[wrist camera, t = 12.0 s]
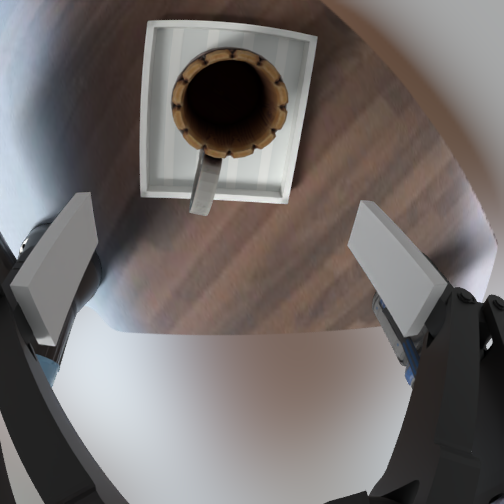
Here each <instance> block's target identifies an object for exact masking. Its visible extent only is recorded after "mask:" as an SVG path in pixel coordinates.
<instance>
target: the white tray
mask: <svg viewBox="0 0 504 504" xmlns="http://www.w3.org/2000/svg"><path fill="white" fill-rule="evenodd" d="M317 38H318V37H317V36H313V35H308V34H304V33H299V32H294V31H289V30H283V29H277V28H271V27H265V26H257V25H250V24H241V23H231V22H218V21H199V20H155V21H148V23H147V31H146V39H145V49H144V60H143V72H142V87H141V107H140V193H141V197H153V198H187V199H191V194H192V189H193V183H194V179H195V174H196V169H197V165H198V161H199V152H200V149H199V150H197V149H195V148H194V147H192V146H191V145H189V144H188V143H187V141H186V140H185V139H184V138H183V135H182V134H181V133H180V131H179V130H178V128H177V126H176V124H175V122H174V119H173V116H172V109H171V96H172V89H173V87H174V84H175V82H176V80H177V77H178V75H179V74H180V73H181V72H182V70H183V69H184V68H185V67H186V65H187V64H188V63H189V62H190V61H191V60H192V59H193V58H194V57H196V56H197V55H199V54H200V53H202V52H204V51H207V50H210V49H212V48H218V47H237V48H243V49H248V50H251V51H253V52H255V53H257V54H260V55H262V56H263V57H264V58H265V59H267V60H268V61H269V62H270V63H272V64H273V65H274V67H275V68H276V69H277V71H278V72H279V74H280V75H281V76H282V79H283V82H284V83H285V86H286V89H287V91H288V103H287V108H286V110H287V111H288V113H287V117H286V121H285V123H284V125H283V127H282V129H281V130H278V131H277V132H276V133H275V134H276V137H275V138H274V140H273V141H272V142H271V143H270V144H269V145H267V146H266V147H264V148H263V149H255V150H254V153H253V154H251V155H249V156H246V157H242V158H233V157H232V156H227V157H226V158H225V159H224V158H222V165H221V170H220V175H219V180H218V184H217V188H216V192H215V195H214V199H213V200H231V201H248V202H264V203H278V204H288V199H289V194H290V189H291V184H292V179H293V174H294V169H295V163H296V158H297V153H298V148H299V142H300V137H301V131H302V126H303V120H304V115H305V109H306V104H307V98H308V92H309V86H310V81H311V75H312V69H313V63H314V57H315V50H316V44H317ZM203 57H204V56H203Z"/></svg>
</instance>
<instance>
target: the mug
mask: <svg viewBox="0 0 504 504" xmlns="http://www.w3.org/2000/svg"><path fill="white" fill-rule="evenodd" d="M203 56H204V57H203ZM287 103H288V91H287V89H286V86H285V83H284V82H283V79H282V76H281V75H280V74H279V72H278V71H277V69H276V68H275V67H274V65H273V64H272V63H270V62H269V61H268V60H267V59H265V58H264V57H263V56H262V55H260V54H257V53H255V52H253V51H251V50H248V49H243V48H237V47H218V48H212V49H210V50H207V51H204V52H202V53H200V54H199V55H197V56H196V57H194V58H193V59H192V60H191V61H190V62H189V63H188V64H187V65H186V67H185V68H184V69H183V70H182V72H181V73H180V74H179V75H178V77H177V80H176V82H175V84H174V87H173V89H172V96H171V109H172V116H173V119H174V122H175V124H176V126H177V128H178V130H179V131H180V133H181V134H182V135H183V138H184V139H185V140H186V141H187V143H188V144H189V145H191V146H192V147H194V148H195V149H197V150H199V149H200V152H199V161H198V165H197V169H196V174H195V179H194V183H193V189H192V194H191V200H190V207H189V213H194V214H199V215H204V216H207V215H208V213H209V211H210V208H211V205H212V202H213V199H214V195H215V192H216V188H217V184H218V180H219V175H220V170H221V165H222V158H224V159H225V158H226V157H227V156H232V157H233V158H242V157H246V156H249V155H251V154H253V153H254V150H255V149H263V148H264V147H266V146H267V145H269V144H270V143H271V142H272V141H273V140H274V138H275V137H276V134H275V133H276V132H277V131H278V130H281V129H282V127H283V125H284V123H285V121H286V117H287V113H288V111H287V110H286V108H287Z"/></svg>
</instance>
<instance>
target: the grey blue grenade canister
mask: <svg viewBox="0 0 504 504" xmlns="http://www.w3.org/2000/svg"><path fill="white" fill-rule="evenodd" d="M372 309H373V311H374V313H375V315H376V317H377V319H378V321H379V323H380V325H381V327H382V328H383V330H384V332H385V334H386V336H387V338H388V340H389V342H390V344H391V346H392V348H393V350H394V352H395V354H396V356H397V358H398V360H399V362H400V364H401V365H402V366H406V370H405V377H406V380H407V382H408V384H409V385H411V387H412V389H413V386H414V382H415V378H416V374H417V369H418V365H419V360H420V356H421V351H422V346H420V348H419V349H416V348H417V346H418V344H419V343H420V342H421V340H422V339H423V337H424V336H425V334H426V333H427V331H428V329H427V327H426V326H425V324H424V326H423V327H422V329H421V330H420V332H419V333H418V335H414V336H408V337H404V336H403V334H402V333H401V331H400V329H399V327H398V326H397V324H396V322H395V321H394V319H393V317H392V315H391V314H390V312H389V310H388V309H387V307H386V305H385V304H384V302H383V300H382V299H381V297H380V295H379V294H378V292H376V293H375V295H374V298H373V303H372Z"/></svg>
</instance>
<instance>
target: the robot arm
mask: <svg viewBox="0 0 504 504" xmlns="http://www.w3.org/2000/svg"><path fill="white" fill-rule="evenodd" d="M97 244H98V237H97V231H96V226H95V220H94V213H93V207H92V200H91V192H81V193H76V194H75V195H74V196H73V197H72V199H71V200H70V201H69V202H68V203H67V205H66V206H65V207H64V208H63V210H62V211H61V212H60V213H59V215H58V216H57V217H56V219H55V220H54V221H53V223H52V224H43V225H40V226H38V227H36V228H34V229H33V230H32V231H31V232H30V233H29V234H28V236H27V237H26V238H25V240H24V241H23V243H22V245H21V248H20V251H19V256H18V259H16V258H15V256H14V255H13V253H12V251H11V250H10V248H9V246H8V244H7V243H6V241H5V239H4V237H3V236H2V234H1V232H0V411H1V414H2V417H3V419H4V422H5V424H6V427H7V429H8V432H9V434H10V437H11V439H12V441H13V444H14V446H15V448H16V450H17V453H18V455H19V457H20V459H21V461H22V463H23V465H24V467H25V469H26V471H27V473H28V475H29V477H30V479H31V481H32V482H33V484H34V486H35V488H36V489H37V491H38V493H39V495H40V496H41V498H42V500H43V501H44V503H45V504H129V503H128V502H127V501H126V499H125V498H124V497H123V496H122V495H121V494H120V493H119V491H118V490H117V489H116V487H115V486H114V485H113V484H112V482H111V481H110V480H109V479H108V478H107V476H106V475H105V473H104V472H103V471H102V469H101V468H100V467H99V465H98V464H97V462H96V461H95V460H94V458H93V457H92V455H91V454H90V452H89V451H88V450H87V448H86V446H85V445H84V443H83V442H82V440H81V439H80V437H79V436H78V434H77V432H76V431H75V429H74V428H73V426H72V424H71V423H70V421H69V419H68V418H67V416H66V414H65V412H64V411H63V409H62V407H61V405H60V403H59V401H58V400H57V398H56V396H55V394H54V392H53V390H52V386H53V383H54V380H55V377H56V375H57V372H59V370H60V364H61V361H62V357H63V354H64V350H65V347H66V344H67V340H68V337H69V334H70V331H71V328H72V325H73V322H74V319H75V317H76V314H77V313H78V312H79V311H80V309H81V308H82V307H83V306H84V305H85V304H86V303H87V302H88V301H89V300H90V299H91V298H92V297H93V296H94V295H95V293H96V291H97V289H98V286H99V283H100V280H101V275H102V270H101V264H100V261H99V258H98V256H97V254H96V252H95V248H96V246H97ZM347 246H348V247H349V249H350V250H351V252H352V253H353V255H354V256H355V258H356V259H357V261H358V262H359V264H360V265H361V267H362V268H363V270H364V272H365V273H366V275H367V276H368V278H369V279H370V281H371V283H372V284H373V286H374V287H375V289H376V291H377V292H378V294H379V295H380V297H381V299H382V300H383V302H384V304H385V305H386V307H387V309H388V310H389V312H390V314H391V315H392V317H393V319H394V321H395V322H396V324H397V326H398V327H399V329H400V331H401V333H402V334H403V336H404V337H408V336H414V335H418V333H419V332H420V330H421V329H422V327H423V326H424V324H425V326H426V327H427V329H428V331H427V333H426V334H425V336H424V337H423V339H422V340H421V342H420V343H419V344H418V346H417V348H416V349H419V348H420V346H422V351H421V356H420V360H419V365H418V369H417V374H416V378H415V382H414V386H413V390H412V394H411V397H410V401H409V405H408V408H407V411H406V415H405V418H404V421H403V424H402V428H401V431H400V434H399V437H398V440H397V442H396V445H395V448H394V451H393V453H392V456H391V459H390V462H389V464H388V467H387V469H386V471H385V473H384V475H383V476H382V478H381V479H380V480H379V481H378V482H377V484H376V485H375V486H374V488H373V489H372V491H371V493H370V495H369V496H368V495H367V492H366V491H363V492H360V493H357V494H353V495H350V496H347V497H343V498H339V499H336V500H332V501H329V502H327V503H324V504H504V300H503V299H502V298H500V297H498V296H496V295H489V296H488V298H487V299H486V301H485V302H484V303H480V302H477V301H476V299H475V297H474V296H473V295H472V294H471V293H470V292H468V291H467V290H465V289H463V288H460V287H455V288H453V286H452V285H451V284H450V283H449V281H448V280H447V279H446V278H445V277H444V275H443V274H442V273H441V272H440V271H439V270H438V268H437V267H436V266H435V265H434V264H433V262H432V261H431V260H430V259H429V258H428V257H427V256H426V255H425V254H424V253H422V252H421V251H420V250H419V249H418V248H417V247H416V246H415V245H414V244H413V242H412V241H411V240H410V239H409V238H408V237H407V236H406V235H405V234H404V233H403V232H402V230H401V229H400V228H399V227H398V226H397V225H396V224H395V223H394V222H393V221H392V220H391V219H390V218H389V217H388V216H387V215H386V214H385V213H384V212H383V211H382V210H381V209H380V208H379V207H378V206H377V205H376V204H375V203H374V202H373V201H365V200H361V201H360V205H359V208H358V212H357V215H356V219H355V222H354V226H353V229H352V232H351V236H350V239H349V242H348V245H347ZM491 338H492V340H493V343H492V345H491V346H490V348H489V349H488V350H487V348H486V344H487V343H488V342H489V340H490V339H491ZM0 504H16V502H15V499H14V496H13V493H12V489H11V486H10V482H9V479H8V475H7V471H6V467H5V463H4V458H3V453H2V449H1V443H0Z"/></svg>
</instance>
